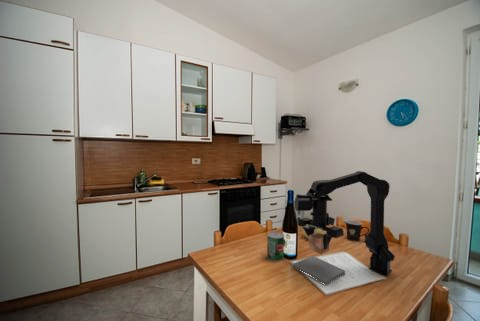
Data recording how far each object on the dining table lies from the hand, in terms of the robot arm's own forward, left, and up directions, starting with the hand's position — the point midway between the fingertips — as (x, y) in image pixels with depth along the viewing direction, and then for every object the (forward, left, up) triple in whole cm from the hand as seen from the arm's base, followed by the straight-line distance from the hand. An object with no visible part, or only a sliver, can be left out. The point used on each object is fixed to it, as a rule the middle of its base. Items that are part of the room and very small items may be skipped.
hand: (318, 246), depth 91 cm
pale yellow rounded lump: (+24, -29, -11) cm, 39 cm away
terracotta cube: (0, 0, -1) cm, 1 cm away
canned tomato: (+19, +7, -11) cm, 23 cm away
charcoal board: (0, 0, -10) cm, 10 cm away
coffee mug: (+8, -48, -11) cm, 50 cm away
